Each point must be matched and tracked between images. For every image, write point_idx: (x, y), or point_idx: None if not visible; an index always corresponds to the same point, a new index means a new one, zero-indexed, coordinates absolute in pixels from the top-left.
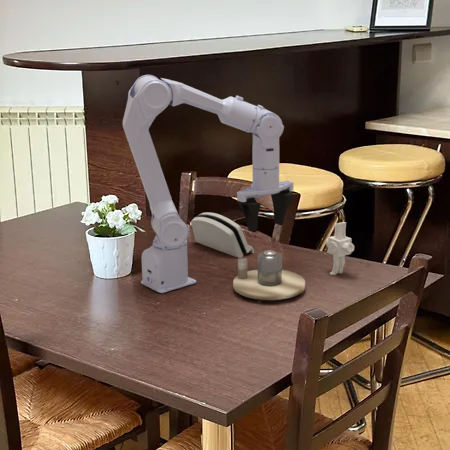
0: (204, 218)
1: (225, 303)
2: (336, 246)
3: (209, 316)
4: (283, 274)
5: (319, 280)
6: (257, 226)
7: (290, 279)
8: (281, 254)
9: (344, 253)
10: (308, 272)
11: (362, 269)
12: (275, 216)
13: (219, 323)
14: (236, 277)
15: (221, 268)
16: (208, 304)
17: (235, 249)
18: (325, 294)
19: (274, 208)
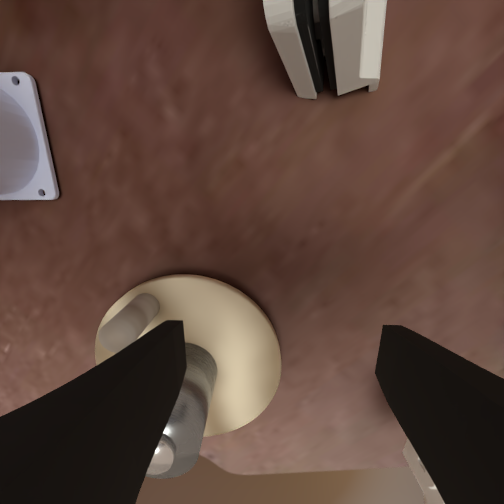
0: None
1: (69, 340)
2: (424, 483)
3: (9, 366)
4: (250, 356)
5: (329, 379)
6: (174, 403)
7: (239, 388)
8: (191, 466)
9: None
10: (354, 330)
11: None
12: (412, 362)
13: (15, 398)
14: (131, 294)
15: (187, 142)
16: (32, 321)
17: (289, 76)
18: (275, 431)
19: (472, 403)
